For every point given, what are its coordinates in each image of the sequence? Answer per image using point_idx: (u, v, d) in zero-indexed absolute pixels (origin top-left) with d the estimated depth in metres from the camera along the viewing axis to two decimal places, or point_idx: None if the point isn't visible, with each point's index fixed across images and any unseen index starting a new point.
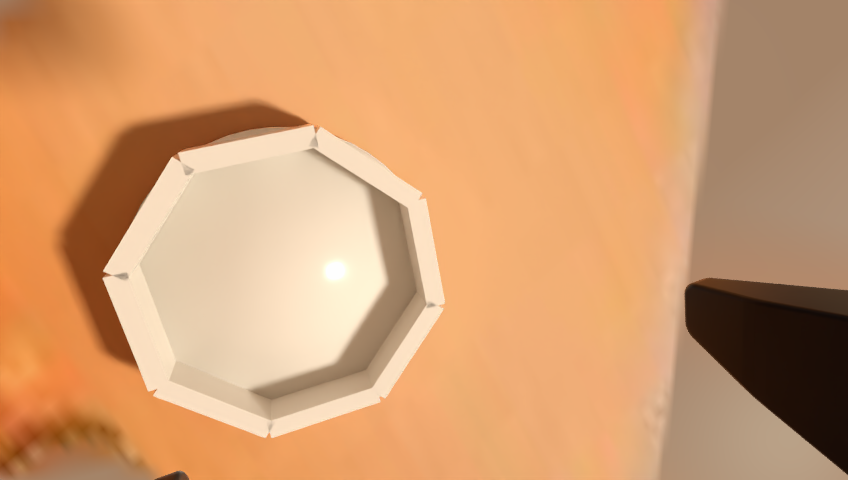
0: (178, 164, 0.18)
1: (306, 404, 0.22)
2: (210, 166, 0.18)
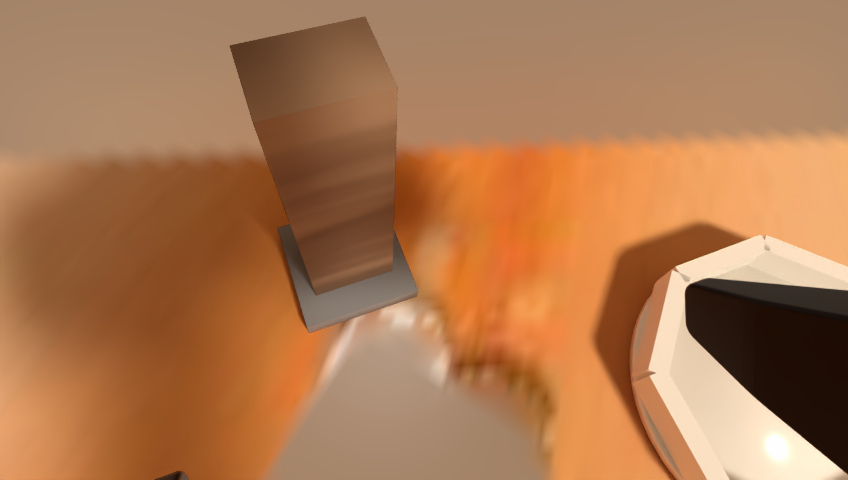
0: (762, 241, 0.23)
1: None
2: (783, 255, 0.23)
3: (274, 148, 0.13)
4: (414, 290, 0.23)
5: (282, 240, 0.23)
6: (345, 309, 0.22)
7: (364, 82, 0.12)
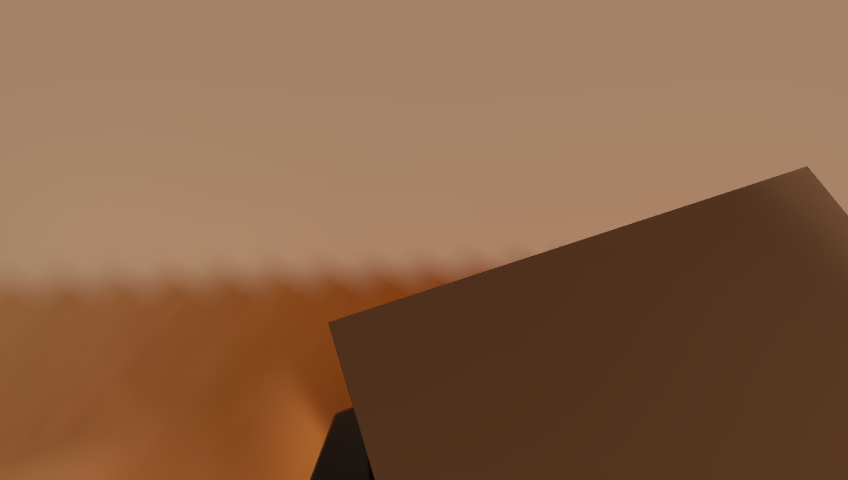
0: None
1: None
2: None
3: None
4: None
5: None
6: None
7: None
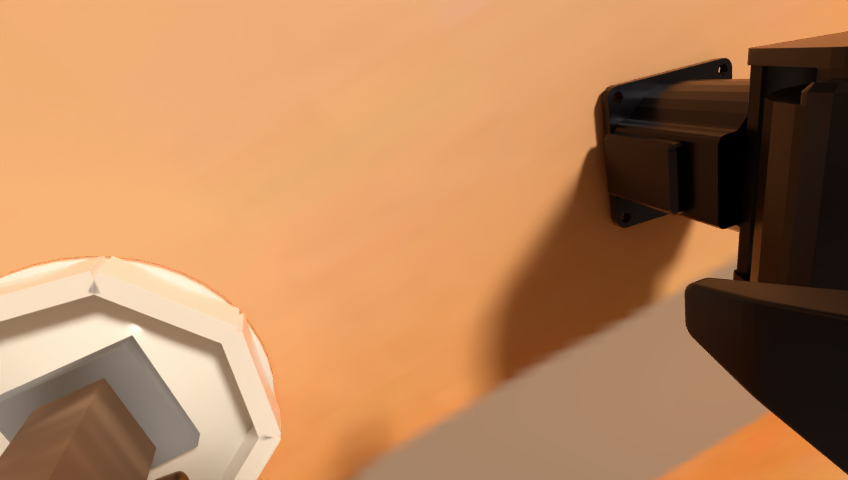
0: None
1: None
2: None
3: None
4: (128, 348, 0.18)
5: None
6: (168, 416, 0.19)
7: None
